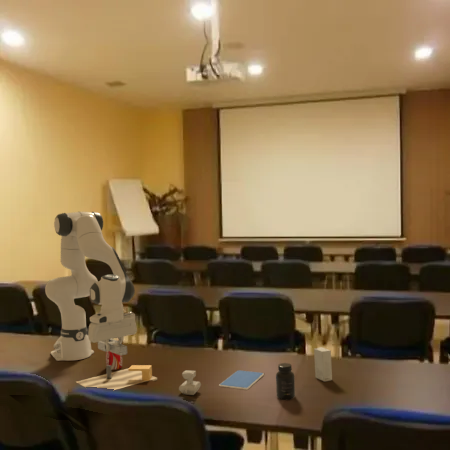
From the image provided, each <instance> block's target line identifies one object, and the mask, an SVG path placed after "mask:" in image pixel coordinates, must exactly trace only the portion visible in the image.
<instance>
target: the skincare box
mask: <svg viewBox="0 0 450 450" xmlns="http://www.w3.org/2000/svg"><path fill="white" fill-rule="evenodd" d="M331 351H332V350H330V349H327V348H324V347H323V346H322V347H321V346H320V347H315V348H313V355H314V371H315V372H314V373H315V378H316V379H318V380H320V381H322V382H330V381H333V373H332V372H333V371H332V352H331Z"/></svg>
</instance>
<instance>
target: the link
mask: <svg viewBox="0 0 450 450" xmlns="http://www.w3.org/2000/svg"><path fill="white" fill-rule="evenodd" d="M118 341H119V340H118V339H117V340H116V339H115V338H114V339H109V342H108V344H109V345H110V346H111V348H112V350H109V351H110V352H113V353H115V354H118V355H120V356H121V355H122V356H124V355H125V356H126V355H128V346H127V345H125V344H120V343H118ZM97 349H98V350H100V351H102V352H106V351H107V350H106V345H105V344H104V342H103V341H100V342H97Z"/></svg>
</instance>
